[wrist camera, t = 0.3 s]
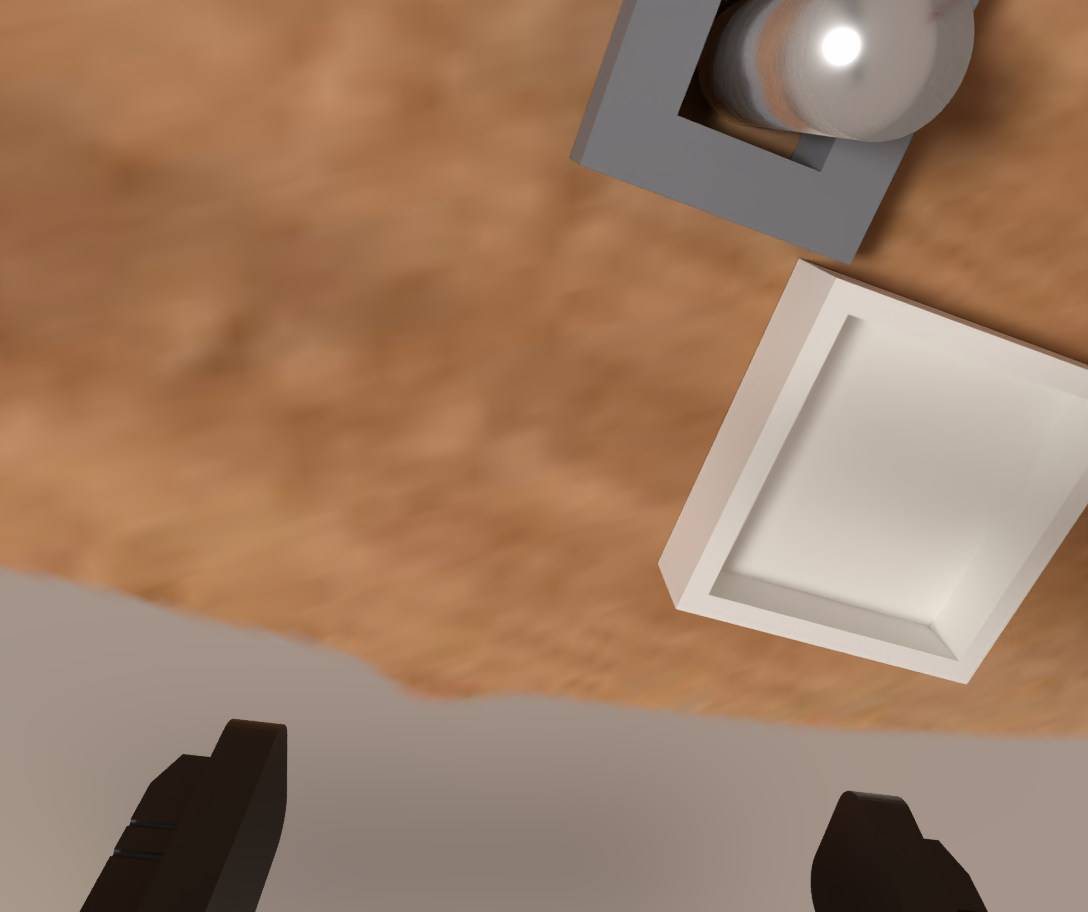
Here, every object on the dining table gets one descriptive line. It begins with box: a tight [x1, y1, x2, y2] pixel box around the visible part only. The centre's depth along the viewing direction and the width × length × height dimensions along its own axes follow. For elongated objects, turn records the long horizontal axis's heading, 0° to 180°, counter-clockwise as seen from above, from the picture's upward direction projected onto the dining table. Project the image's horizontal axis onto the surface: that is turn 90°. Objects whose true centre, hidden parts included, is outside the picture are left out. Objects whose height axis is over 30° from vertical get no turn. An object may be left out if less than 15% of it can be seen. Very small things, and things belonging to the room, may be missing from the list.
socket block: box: [570, 0, 979, 265], centre depth 27 cm, size 10×10×3 cm
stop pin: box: [698, 0, 974, 142], centre depth 24 cm, size 4×4×10 cm
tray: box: [658, 259, 1088, 684], centre depth 33 cm, size 14×14×4 cm
